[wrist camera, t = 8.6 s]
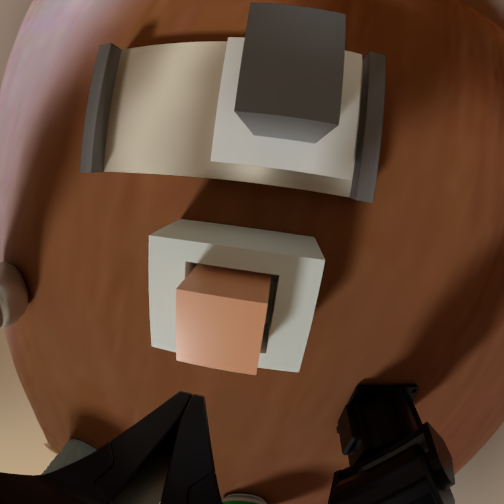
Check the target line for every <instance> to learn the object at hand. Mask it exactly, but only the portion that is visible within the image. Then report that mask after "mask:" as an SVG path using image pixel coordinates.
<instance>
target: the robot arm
mask: <svg viewBox="0 0 504 504" xmlns="http://www.w3.org/2000/svg"><path fill="white" fill-rule="evenodd" d="M359 390H361V391H359ZM418 391H419V387H418V386H417V385H416V384H410V385H358V386H357V387H356V388H355V390H354V392H353V395H352V397H351V399H350V401H349V403H348V404H347V405H346V406H345V408H344V410H343V412H342V414H341V416H340V418H339V420H338V426H337V433H339V434H340V441H341V447H342V453H343V454H344V455H348V458H349V465H350V467H348V468H345V469H343V470H339V471H336V472H334V477H333V482H332V487H331V492H330V496H329V501H328V504H455V500H454V497H453V494H452V492H451V489H450V487H451V486H453V485H454V484H455V478H454V469H453V462H452V457H451V454H450V452H449V450H448V448H447V446H446V444H445V442H444V440H443V439H442V438H441V436H440V435H439V434H438V433H437V432H436V431H435V430H434V429H433V427H432V426H431V425H430V424H429V423H428V422H426V423H424V424H422V422H421V419H420V417H419V415H418V413H417V410H416V408H415V406H414V404H413V400H414V398H415V396H416V394H417V393H418ZM160 500H161V502H160ZM159 502H160V504H223V502H222V499H221V496H220V492H219V488H218V484H217V478H216V474H215V467H214V461H213V454H212V448H211V441H210V434H209V426H208V419H207V411H206V403H205V397H204V396H202V395H198V394H193V395H192V394H191V393H189V392H184V391H180V392H178V393H177V394H175V395H174V396H173V397H171V398H170V399H169V400H168V401H166V402H165V403H164V404H162V405H161V406H159V407H158V408H157V409H155V410H154V411H153V412H151V413H150V414H149V415H147V416H146V417H144V418H143V419H142V420H140V421H139V422H138V423H136V424H135V425H133V426H132V427H130V428H129V429H128V430H126V431H125V432H123V433H122V434H120V435H119V436H118V437H116V438H115V439H113V440H112V441H111V443H110V442H108V443H107V444H106V445H104V446H103V447H101V448H99V449H98V450H96V451H94V452H93V453H91V454H89V455H87V456H85V457H84V458H82V459H80V460H77V461H75V462H73V463H71V464H69V465H66V466H64V467H62V468H60V469H57V470H55V471H52V472H50V473H47V474H43V475H35V476H32V475H18V474H8V473H1V472H0V504H159Z"/></svg>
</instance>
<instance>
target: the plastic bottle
mask: <svg viewBox="0 0 504 504" xmlns="http://www.w3.org/2000/svg"><path fill="white" fill-rule="evenodd" d="M27 305H28V292H27V288H26V285H25V282H24V280H23V277H22V276H21V274H20V272H19V271H18V270H17V269H16V268H15V267H14V266H13V265H11V264H8V263H6V262H0V329H2V328H4V327H7V326H9V325H11V324H13V323H15V322H17V321H18V320H19V319H20V317H21V316H22V315H23V314H24V313H25V311H26V308H27Z"/></svg>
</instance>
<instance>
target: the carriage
mask: <svg viewBox="0 0 504 504" xmlns="http://www.w3.org/2000/svg"><path fill="white" fill-rule="evenodd" d="M345 35H346V14H342V13H338V12H333V11H327V10H322V9H316V8H309V7H302V6H294V5H284V4H272V3H254V2H251V4H250V10H249V15H248V21H247V27H246V33H245V38H243V37H228V40H227V46H226V52H225V58H224V64H223V71H222V77H221V84H220V90H219V97H218V104H217V112H216V119H215V127H214V135H213V143H212V152H211V161H213V162H222V163H232V164H242V165H251V166H259V167H267V168H275V169H283V170H290V171H296V172H303V173H309V174H316V175H322V176H327V177H333V178H339V179H345V180H351V174H352V167H353V160H354V151H355V143H356V134H357V124H358V113H359V102H360V88H361V70H362V54H359V53H355V52H350V51H346V50H345Z"/></svg>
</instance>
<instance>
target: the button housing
mask: <svg viewBox="0 0 504 504" xmlns="http://www.w3.org/2000/svg"><path fill="white" fill-rule="evenodd" d="M198 263H200V264H206V265H213V266H219V267H226V268H232V269H239V270H246V271H253V272H260V273H267V274H271V281H270V290H269V299H268V306H267V313H266V319H265V325H264V331H263V337H262V343H261V349H260V355H259V361H258V368H266V369H273V370H281V371H290V372H299V370H300V366H301V362H302V359H303V355H304V351H305V347H306V343H307V339H308V335H309V331H310V327H311V323H312V319H313V315H314V311H315V306H316V302H317V297H318V293H319V288H320V284H321V279H322V274H323V269H324V264H325V258H324V256H323V254H322V252H321V250H320V248H319V246H318V243H317V241H316V239H315V237H311V236H304V235H297V234H291V233H284V232H277V231H269V230H262V229H255V228H248V227H240V226H233V225H225V224H217V223H210V222H202V221H194V220H186V219H179V220H177V221H175V222H173V223H171V224H169V225H168V226H166V227H164V228H162V229H160V230H158V231H156V232H154V233H152V234H150V235H149V308H150V328H151V344H152V347H156V348H160V349H164V350H168V351H173V352H176V288H177V287H178V286H179V285H180V284H181V283H182V281H183V280H184V279H185V278H186V277H187V276H188V274H189V273H190V272H191V271H192V270H193V269H194V268H195V266H196V265H197V264H198Z"/></svg>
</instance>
